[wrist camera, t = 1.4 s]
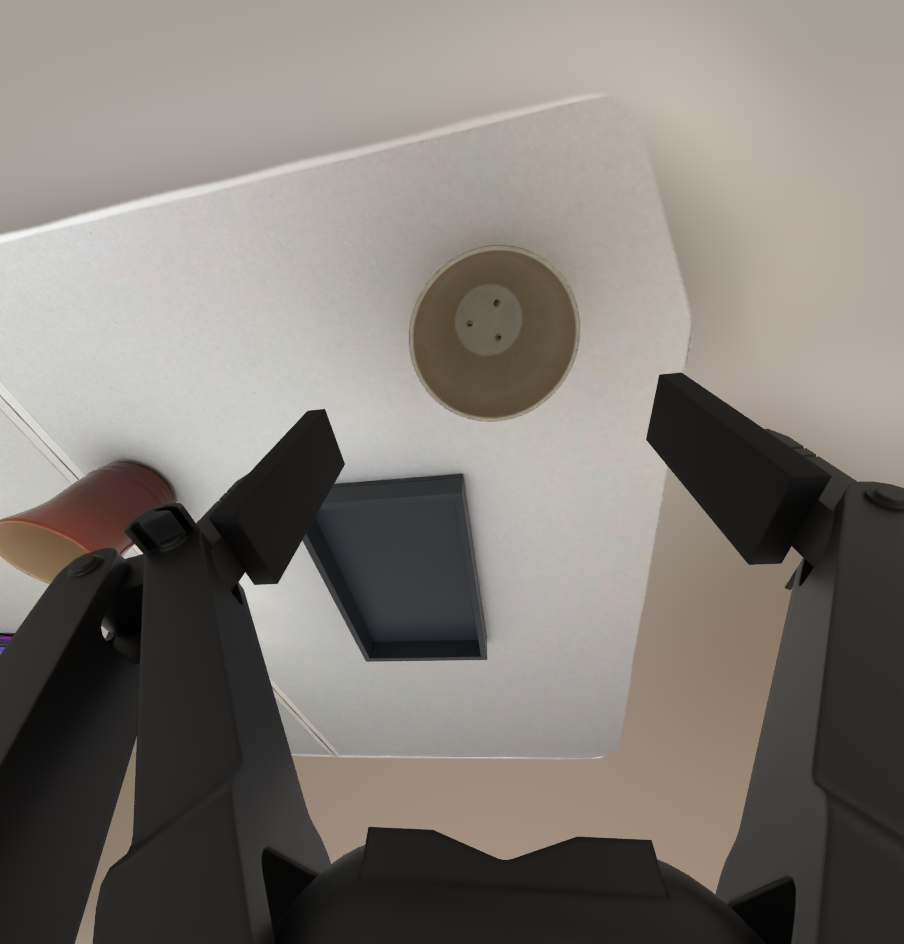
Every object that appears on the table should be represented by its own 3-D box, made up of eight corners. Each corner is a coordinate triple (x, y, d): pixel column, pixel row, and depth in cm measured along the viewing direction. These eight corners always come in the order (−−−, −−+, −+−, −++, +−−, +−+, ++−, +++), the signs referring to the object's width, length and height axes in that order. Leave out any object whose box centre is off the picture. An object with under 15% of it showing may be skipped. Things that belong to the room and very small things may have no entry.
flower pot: (488, 406, 31) (491, 448, 25) (397, 323, 27) (375, 350, 21) (584, 316, 26) (616, 341, 20) (490, 203, 23) (495, 193, 17)
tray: (297, 486, 37) (284, 505, 34) (462, 473, 35) (461, 492, 32) (371, 641, 53) (366, 661, 51) (486, 638, 51) (487, 659, 49)
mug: (79, 462, 37) (-39, 531, 28) (142, 442, 35) (35, 510, 26) (164, 541, 43) (88, 617, 35) (221, 527, 41) (156, 604, 33)
